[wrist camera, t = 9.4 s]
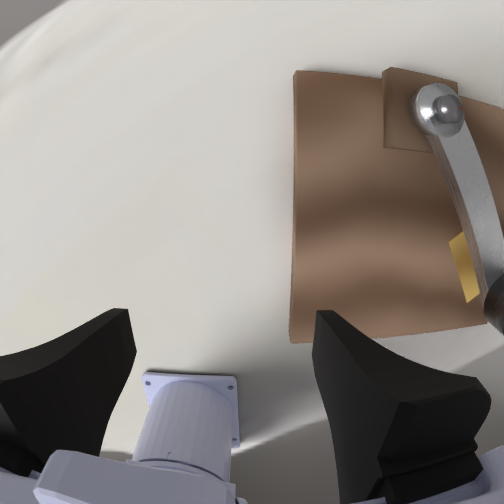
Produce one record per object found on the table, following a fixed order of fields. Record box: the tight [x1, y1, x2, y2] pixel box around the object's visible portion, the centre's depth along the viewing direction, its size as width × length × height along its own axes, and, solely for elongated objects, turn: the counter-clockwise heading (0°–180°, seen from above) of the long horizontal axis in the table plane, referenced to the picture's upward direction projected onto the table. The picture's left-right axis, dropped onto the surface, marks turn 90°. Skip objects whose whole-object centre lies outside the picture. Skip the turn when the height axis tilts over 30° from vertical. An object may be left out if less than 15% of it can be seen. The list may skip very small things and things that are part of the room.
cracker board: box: [289, 67, 504, 343], centre depth 19 cm, size 18×18×3 cm
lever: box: [409, 83, 504, 335], centre depth 15 cm, size 18×4×6 cm, turn 32°
